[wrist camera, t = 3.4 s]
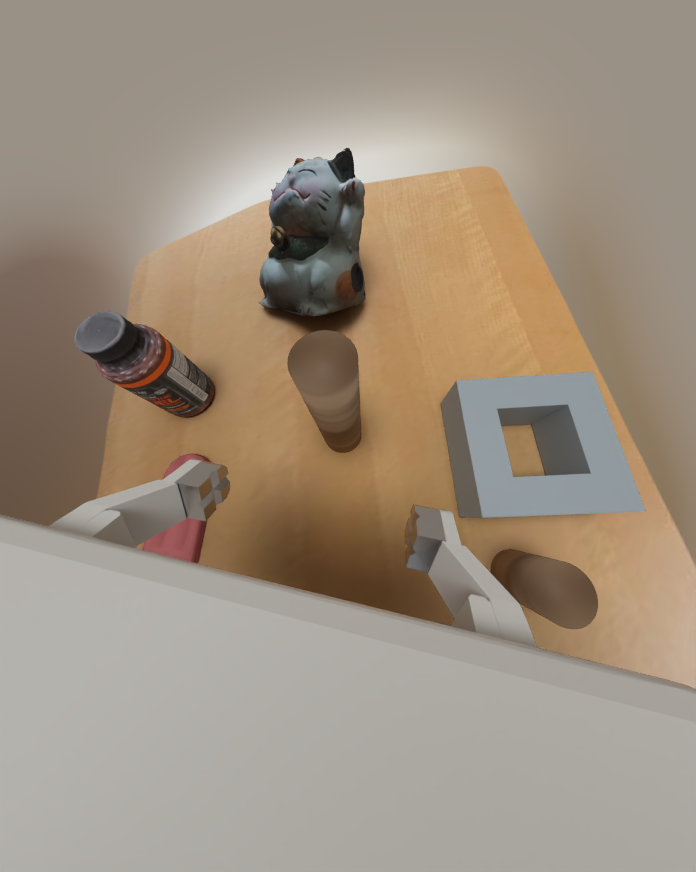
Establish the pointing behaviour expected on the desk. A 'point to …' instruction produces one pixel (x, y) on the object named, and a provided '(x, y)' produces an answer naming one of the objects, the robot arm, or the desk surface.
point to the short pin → (547, 587)
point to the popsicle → (180, 529)
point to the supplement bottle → (144, 363)
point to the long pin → (329, 385)
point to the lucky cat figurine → (315, 238)
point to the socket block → (557, 443)
